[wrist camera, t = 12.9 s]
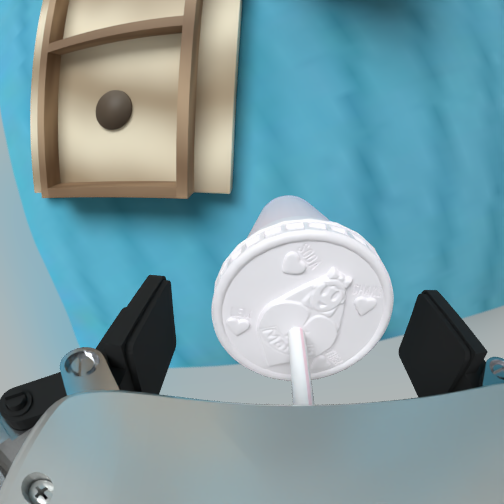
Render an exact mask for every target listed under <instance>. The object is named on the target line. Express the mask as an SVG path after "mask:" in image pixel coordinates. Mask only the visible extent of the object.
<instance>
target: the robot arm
mask: <svg viewBox="0 0 504 504" xmlns="http://www.w3.org/2000/svg"><path fill="white" fill-rule="evenodd" d="M175 347H176V334H175V325H174V314H173V304H172V292H171V282H170V281H168V280H166V278H165V276H156V275H149V276H148V277H147V279H146V280H145V281H144V283H143V284H142V286H141V287H140V289H139V290H138V291H137V293H136V294H135V296H134V297H133V299H132V300H131V302H130V303H129V304H128V306H127V307H125V308H123V309H122V310H121V312H120V313H119V315H118V316H117V318H116V319H115V320H114V322H113V323H112V325H111V326H110V328H109V329H108V331H107V332H106V334H105V335H104V337H103V338H102V340H101V341H100V343H99V344H98V346H97V348H96V349H94V348H88V347H83V348H77V349H75V350H72V351H70V352H69V353H67V354H66V355H65V356H64V357H63V358H62V360H61V363H60V370H61V372H59V373H56V374H53V375H51V376H47V377H45V378H41V379H38V380H36V381H32V382H30V383H26V384H23V385H20V386H17V387H14V388H12V389H10V390H8V391H7V392H6V393H4V395H3V396H2V397H1V399H0V504H504V359H502V358H499V357H492V358H489V359H488V360H487V361H486V362H485V360H484V357H485V356H486V354H487V350H486V349H485V348H484V346H483V345H482V344H481V343H480V341H479V340H478V339H477V337H476V336H475V335H474V334H473V332H472V331H471V330H470V329H469V327H468V326H467V325H466V324H465V322H464V321H463V320H462V319H461V318H460V316H459V315H458V314H457V313H456V312H455V310H454V309H453V308H452V307H451V306H450V304H449V303H448V302H447V301H446V300H445V299H444V297H443V296H442V295H441V294H440V293H439V292H438V291H437V290H424V291H423V292H422V293H421V294H419V295H418V297H417V300H416V303H415V306H414V309H413V312H412V315H411V318H410V321H409V323H408V326H407V329H406V332H405V334H404V337H403V340H402V343H401V345H400V348H399V356H400V359H401V361H402V363H403V365H404V367H405V369H406V371H407V373H408V375H409V378H410V380H411V382H412V384H413V386H414V389H415V391H416V393H417V395H418V397H419V398H411V399H403V400H394V401H383V402H372V403H358V404H357V403H356V404H338V405H337V404H336V405H268V404H247V403H246V404H245V403H231V402H220V401H209V400H199V399H191V398H184V397H175V396H166V395H159V392H160V390H161V387H162V384H163V381H164V378H165V376H166V373H167V370H168V367H169V365H170V362H171V359H172V356H173V353H174V351H175Z"/></svg>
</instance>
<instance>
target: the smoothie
mask: <svg viewBox="0 0 504 504" xmlns="http://www.w3.org/2000/svg"><path fill="white" fill-rule="evenodd" d="M392 309H393V288H392V284H391V280H390V277H389V275H388V272H387V270H386V268H385V267H384V264H383V263H382V261H381V259H380V257H379V256H378V254H377V252H376V250H375V249H374V247H373V246H372V245H371V244H369V243H368V242H367V241H366V240H365V239H364V238H363V237H362V236H361V235H360V234H358V233H357V232H355V231H353V230H351V229H349V228H347V227H345V226H343V225H340V224H338V223H336V222H331V221H330V220H329V219H327V218H326V217H325V216H324V215H323V214H321V213H320V212H319V211H318V210H317V209H315V208H314V207H313V206H312V205H311V204H309V203H308V202H307V201H305V200H304V199H302V198H299V197H296V196H281V197H278V198H275V199H273V200H272V201H270V202H269V203H268V204H267V205H266V206H265V207H264V208H263V210H262V211H261V213H260V215H259V217H258V219H257V221H256V223H255V224H254V226H253V228H252V230H251V232H250V234H249V235H248V237H247V239H245V240H244V241H242V242H241V243H240V244H238V246H237V247H236V248H235V249H234V250H233V252H232V253H231V254H230V255H229V256H228V258H227V259H226V260H225V261H224V263H223V265H222V267H221V270H220V272H219V274H218V277H217V279H216V282H215V290H214V296H213V301H212V321H213V326H214V329H215V332H216V335H217V337H218V339H219V341H220V343H221V344H222V346H223V347H224V349H225V350H226V351H227V352H228V353H229V354H230V355H231V356H232V358H234V359H235V360H236V361H237V362H238V363H240V364H241V365H243V366H244V367H246V368H248V369H249V370H251V371H253V372H255V373H258V374H260V375H263V376H266V377H270V378H273V379H279V380H286V381H292V395H293V405H314V399H313V391H312V383H311V380H313V379H319V378H322V377H326V376H330V375H333V374H335V373H338V372H340V371H342V370H345V369H347V368H348V367H350V366H351V365H353V364H355V363H356V362H358V361H359V360H360V359H362V358H363V357H364V356H365V355H367V353H369V352H370V351H371V349H372V348H373V347H374V346H375V345H376V344H377V343H378V341H379V340H380V339H381V337H382V335H383V334H384V332H385V330H386V328H387V326H388V323H389V321H390V318H391V314H392Z"/></svg>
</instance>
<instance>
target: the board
mask: <svg viewBox="0 0 504 504" xmlns="http://www.w3.org/2000/svg"><path fill="white" fill-rule="evenodd" d="M241 12H242V0H43V3H42V8H41V13H40V18H39V24H38V29H37V36H36V43H35V51H34V60H33V70H32V84H31V115H30V124H31V155H32V169H33V180H34V190H35V193H41V192H42V198H62V197H142V198H181V199H188V198H189V197H190V196H191V195H192V194H193V193H194V192H202V193H225V194H230V193H231V191H232V182H233V156H234V133H235V112H236V93H237V75H238V58H239V42H240V27H241Z"/></svg>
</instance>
